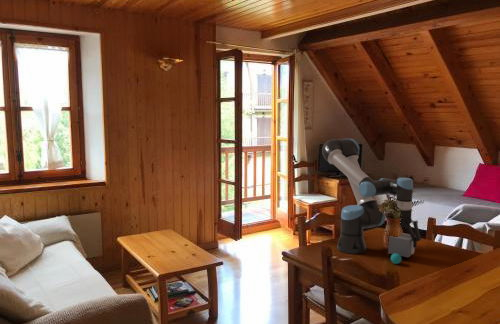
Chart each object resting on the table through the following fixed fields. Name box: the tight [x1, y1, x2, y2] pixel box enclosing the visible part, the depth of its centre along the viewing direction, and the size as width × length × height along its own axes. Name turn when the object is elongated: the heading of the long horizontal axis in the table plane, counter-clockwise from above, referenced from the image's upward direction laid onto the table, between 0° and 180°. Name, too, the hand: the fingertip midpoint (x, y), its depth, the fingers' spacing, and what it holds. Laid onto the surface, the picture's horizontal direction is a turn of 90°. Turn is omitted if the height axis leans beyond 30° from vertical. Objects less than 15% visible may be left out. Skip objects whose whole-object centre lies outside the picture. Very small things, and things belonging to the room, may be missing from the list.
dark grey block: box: [387, 232, 416, 259], centre depth 214 cm, size 10×10×9 cm
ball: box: [390, 253, 402, 265], centre depth 205 cm, size 5×5×5 cm
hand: (401, 251), depth 215 cm, fingers closed on dark grey block, 10 cm apart
